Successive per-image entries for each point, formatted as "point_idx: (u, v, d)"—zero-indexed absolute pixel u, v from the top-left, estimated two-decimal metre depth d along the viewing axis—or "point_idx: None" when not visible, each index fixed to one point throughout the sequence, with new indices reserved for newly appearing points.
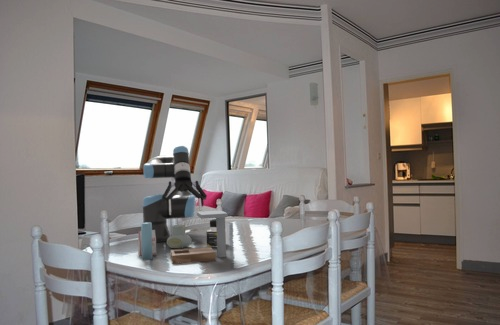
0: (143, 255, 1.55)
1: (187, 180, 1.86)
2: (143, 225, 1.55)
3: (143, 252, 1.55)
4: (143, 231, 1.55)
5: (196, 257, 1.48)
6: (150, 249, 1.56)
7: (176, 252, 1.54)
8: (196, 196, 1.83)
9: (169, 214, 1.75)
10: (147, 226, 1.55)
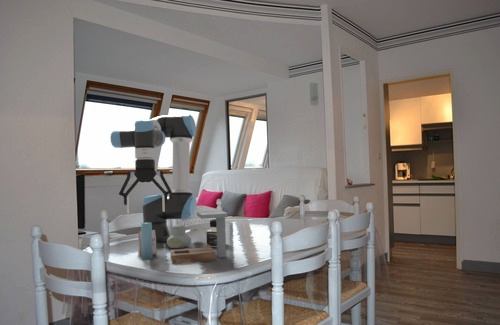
0: (143, 255, 1.55)
1: (150, 170, 1.57)
2: (143, 225, 1.55)
3: (143, 252, 1.55)
4: (143, 231, 1.55)
5: (196, 257, 1.48)
6: (150, 249, 1.56)
7: (176, 252, 1.54)
8: None
9: None
10: (147, 226, 1.55)
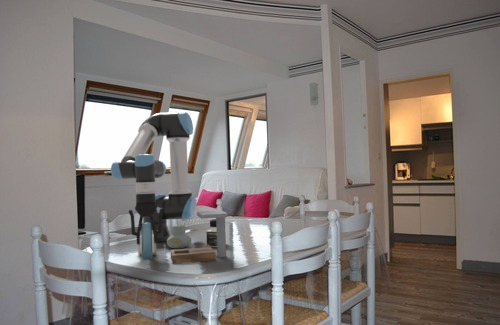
0: (143, 255, 1.55)
1: (152, 203, 1.57)
2: (143, 225, 1.55)
3: (143, 252, 1.55)
4: (143, 231, 1.55)
5: (196, 257, 1.48)
6: (150, 249, 1.56)
7: (176, 252, 1.54)
8: None
9: None
10: (147, 226, 1.55)
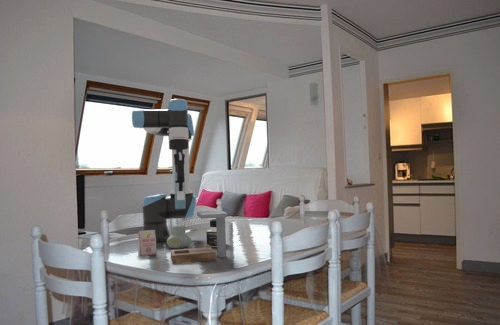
0: None
1: (176, 149, 1.50)
2: None
3: None
4: None
5: (196, 257, 1.48)
6: (176, 199, 1.51)
7: (176, 252, 1.54)
8: None
9: None
10: (174, 175, 1.52)
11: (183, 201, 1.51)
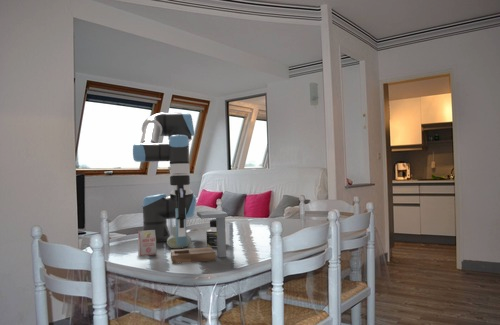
0: None
1: (177, 185, 1.50)
2: None
3: None
4: None
5: (196, 257, 1.48)
6: (177, 235, 1.51)
7: (176, 252, 1.54)
8: None
9: None
10: None
11: (184, 237, 1.51)
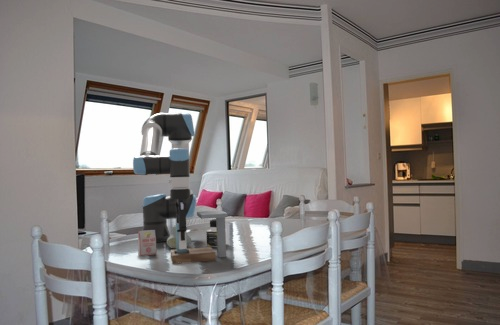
0: None
1: (178, 199, 1.50)
2: None
3: None
4: None
5: (196, 257, 1.48)
6: (178, 250, 1.50)
7: (176, 252, 1.54)
8: None
9: None
10: (176, 226, 1.52)
11: None
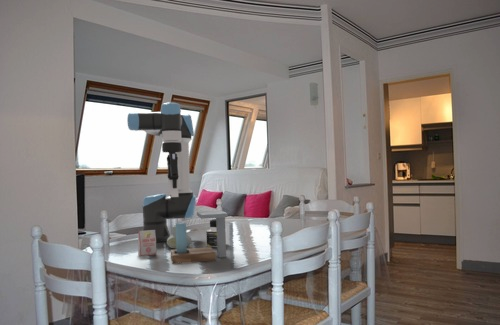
0: None
1: (169, 153, 1.54)
2: None
3: None
4: None
5: (196, 257, 1.48)
6: (178, 250, 1.50)
7: (176, 252, 1.54)
8: None
9: None
10: (176, 226, 1.52)
11: None
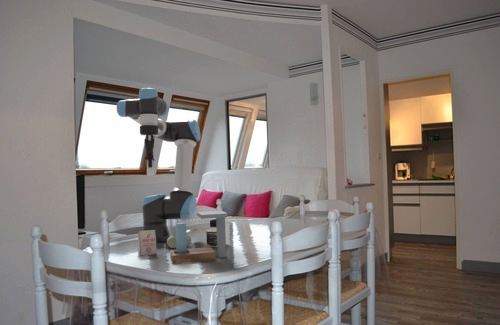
0: None
1: None
2: None
3: None
4: None
5: (196, 257, 1.48)
6: (178, 250, 1.50)
7: (176, 252, 1.54)
8: None
9: None
10: (176, 226, 1.52)
11: None
